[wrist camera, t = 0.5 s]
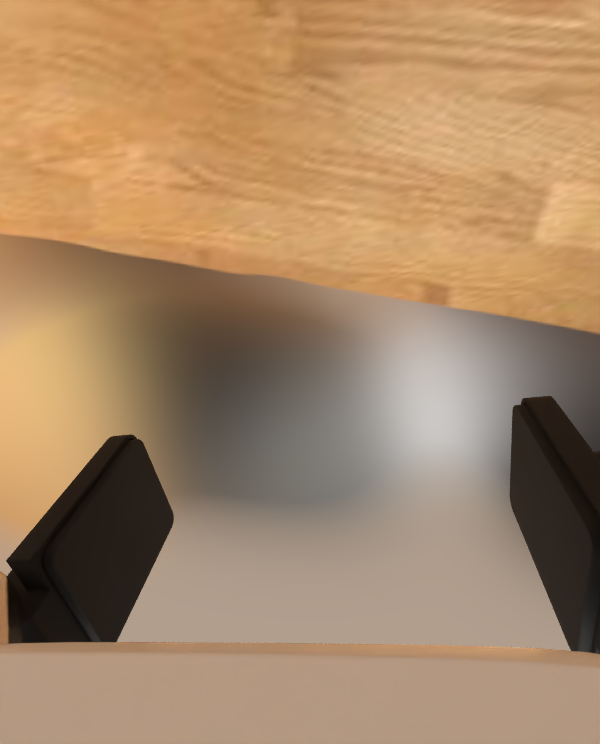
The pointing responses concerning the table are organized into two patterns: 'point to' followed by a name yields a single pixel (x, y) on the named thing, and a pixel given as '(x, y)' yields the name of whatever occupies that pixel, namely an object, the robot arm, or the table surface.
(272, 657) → the robot arm
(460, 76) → the table surface
